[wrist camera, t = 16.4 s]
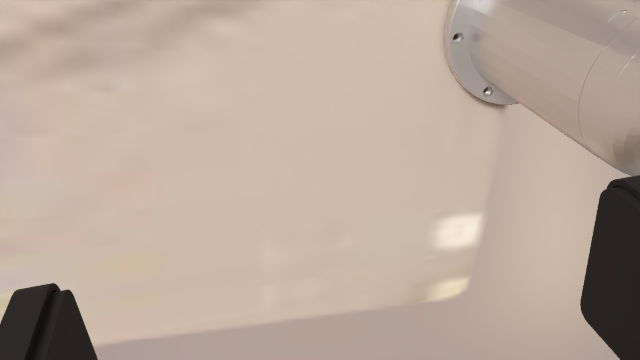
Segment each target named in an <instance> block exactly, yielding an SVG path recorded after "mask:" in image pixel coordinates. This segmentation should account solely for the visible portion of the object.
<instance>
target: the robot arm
mask: <svg viewBox="0 0 640 360" xmlns="http://www.w3.org/2000/svg"><path fill="white" fill-rule="evenodd" d="M455 34H456V37H455V38H454V39H453V37H454V35H455ZM444 46H445V54H446V58H447V61H448V64H449V67H450V69H451V71H452V73H453V75H454V76H455V78H456V80H457V81H458V82H459V83H460V84H461V85H462V86H463V87H464V88H465V89H466V90H468V91H469V92H470V93H472V94H473V95H474V96H476V97H478V98H479V99H481V100H483V101H486V102H490V103H494V104H504V105H512V104H518V103H520V104H522V105H523V106H525V107H526V108H528V109H529V110H531V111H532V112H534V113H535V114H536V115H538V116H539V117H541V118H542V119H544V120H545V121H547V122H548V123H549V124H551V125H552V126H554V127H555V128H557V129H558V130H559V131H561V132H562V133H564V134H565V135H567V136H568V137H570V138H571V139H573V140H574V141H575V142H577V143H578V144H580V145H581V146H583V147H584V148H586V149H587V150H588V151H590V152H591V153H593V154H594V155H596V156H597V157H599V158H600V159H602V160H603V161H605V162H606V163H608V164H609V165H611V166H613V167H614V168H616V169H618V170H620V171H621V172H623V173H626V174H629V175H631V176H632V177H627V178H621V179H616V180H613V181H611V182H610V183H609V185H608V186H607V189H606V190H604V191H603V192H602V193H601V195H600V199H599V204H598V210H597V215H596V221H595V226H594V231H593V237H592V242H591V247H590V253H589V258H588V265H587V269H586V275H585V280H584V286H583V291H582V296H581V304H580V305H581V311H582V314H583V316H584V318H585V320H586V321H587V322H588V324H589V325H590V326H591V327H592V328H593V329H594V330H595V331H596V332H597V334H598V335H599V336H600V337H601V338H602V339H603V340H604V342H606V344H607V345H608V346H609V347H610V348H611V349H612V350H613V351H614V353H615V354H616V355H617V356H618V357H619V358H620V360H640V0H453V1H452V3H451V6H450V8H449V11H448V15H447V19H446V23H445V32H444ZM484 89H485V90H484ZM0 360H98V359H97V356H96V354H95V351H94V348H93V346H92V343H91V340H90V338H89V335H88V332H87V330H86V327H85V324H84V322H83V319H82V316H81V314H80V311H79V309H78V306H77V303H76V301H75V298H74V296H73V294H72V292H71V291H70V290H63V291H60V289H59V287H58V286H57V285H56V284H54V283H51V284H46V285H41V286H35V287H30V288H24V289H19V290H16V291H15V292H14V293H13V295H12V297H11V299H10V302H9V304H8V307H7V309H6V311H5V314H4V316H3V319H2V321H1V323H0Z"/></svg>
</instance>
